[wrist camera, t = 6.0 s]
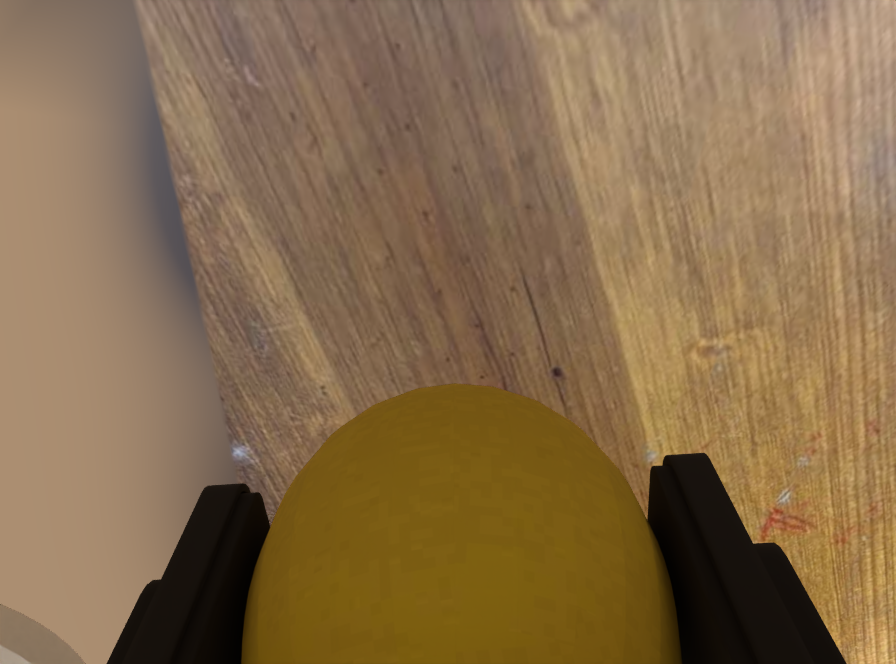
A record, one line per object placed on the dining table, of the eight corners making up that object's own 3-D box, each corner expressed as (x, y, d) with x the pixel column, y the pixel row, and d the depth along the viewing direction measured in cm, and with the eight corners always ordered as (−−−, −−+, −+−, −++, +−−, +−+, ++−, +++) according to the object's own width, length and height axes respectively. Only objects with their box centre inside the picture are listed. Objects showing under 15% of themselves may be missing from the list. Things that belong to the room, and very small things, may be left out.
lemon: (470, 587, 15) (485, 1155, 8) (248, 444, 13) (13, 1001, 6) (673, 423, 13) (938, 982, 6) (444, 232, 11) (429, 691, 4)
